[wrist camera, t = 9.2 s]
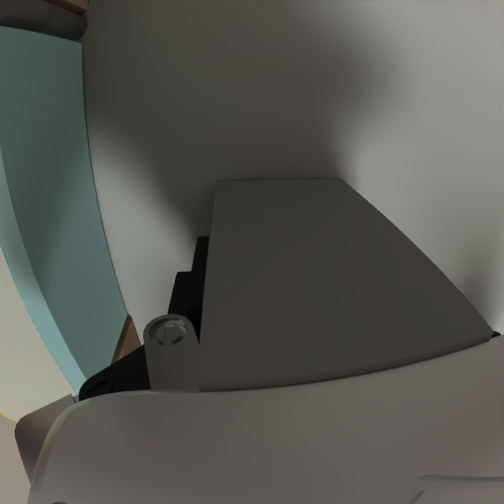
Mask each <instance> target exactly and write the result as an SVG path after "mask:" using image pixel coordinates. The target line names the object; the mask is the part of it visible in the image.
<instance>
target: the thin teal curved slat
mask: <svg viewBox="0 0 504 504" xmlns="http://www.w3.org/2000/svg"><path fill="white" fill-rule="evenodd" d="M0 245H1V248H2V251H3V254H4V257H5V259H6V262H7V265H8V267H9V270H10V272H11V275H12V277H13V280H14V282H15V284H16V287H17V289H18V291H19V294H20V296H21V298H22V300H23V302H24V305H25V307H26V309H27V311H28V313H29V315H30V317H31V319H32V321H33V323H34V325H35V327H36V329H37V331H38V332H39V334H40V336H41V338H42V340H43V342H44V343H45V345H46V347H47V349H48V350H49V352H50V354H51V355H52V357H53V359H54V360H55V362H56V364H57V365H58V367H59V369H60V370H61V372H62V373H63V375H64V376H65V378H66V379H67V381H68V382H69V384H70V385H71V387H72V388H73V390H74V391H75V393H76V394H77V395H79V391H80V388H81V386H82V385H83V383H84V382H85V381H86V380H88V379H89V378H90V377H92V376H93V375H95V374H96V373H98V372H100V371H101V370H103V369H105V368H106V367H108V366H110V364H111V361H112V358H113V355H114V352H115V349H116V346H117V343H118V340H119V337H120V334H121V331H122V328H123V326H124V323H125V320H126V317H127V313H126V309H125V306H124V303H123V300H122V297H121V294H120V290H119V287H118V284H117V280H116V277H115V273H114V270H113V266H112V263H111V259H110V255H109V251H108V247H107V243H106V239H105V235H104V231H103V226H102V222H101V217H100V212H99V208H98V203H97V197H96V192H95V187H94V181H93V175H92V169H91V162H90V155H89V148H88V140H87V131H86V122H85V111H84V97H83V79H82V43H78V42H75V41H71V40H67V39H63V38H59V37H55V36H51V35H46V34H42V33H37V32H32V31H27V30H21V29H16V28H9V27H3V26H0Z"/></svg>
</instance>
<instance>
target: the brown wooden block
mask: <svg viewBox="0 0 504 504" xmlns="http://www.w3.org/2000/svg"><path fill="white" fill-rule="evenodd" d="M87 8H88V0H0V26H3V27H9V28H16V29H21V30H27V31H32V32H37V33H42V34H46V35H51V36H55V37H59V38H63V39H67V40H71V41H75V40H77V39H79V38H80V37H81V36H82V35H83V33H84V32H85V30H86V26H87V22H86V19H85V18H84V17H82V16H80V15H78V13H81V12H84V11H87ZM140 346H141V343H140V340H139V338H138V335H137V332H136V329H135V326H134V323H133V320H132V318H126V320H125V323H124V326H123V328H122V331H121V334H120V337H119V340H118V343H117V346H116V349H115V352H114V355H113V358H112V361H111V364H113V363H114V362H116V361H118V360H119V359H121V358H122V357H124V356H126V355H127V354H129V353H131V352H132V351H134V350H135V349H137V348H139V347H140ZM111 364H110V365H111Z"/></svg>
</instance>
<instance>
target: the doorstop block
mask: <svg viewBox="0 0 504 504" xmlns="http://www.w3.org/2000/svg"><path fill="white" fill-rule="evenodd" d="M493 333H494V331H493V330H492V329H491V327H490V326H489V325H488V324H487V322H486V321H485V320H484V319H483V318H482V316H481V315H480V314H479V313H478V312H477V310H476V309H475V308H474V307H473V306H472V305H471V303H470V302H469V301H468V300H467V299H466V298H465V297H464V295H463V294H462V293H461V292H460V291H459V290H458V289H457V288H456V286H455V285H454V284H453V283H452V282H451V281H450V280H449V279H448V278H447V277H446V276H445V275H444V274H443V272H442V271H441V270H440V269H439V268H438V267H437V266H436V265H435V264H434V263H433V262H432V261H431V260H430V259H429V258H428V257H427V256H426V255H425V254H424V253H423V252H422V251H421V250H420V249H419V248H418V247H417V246H416V245H415V244H414V243H413V242H412V241H411V240H410V239H409V238H408V237H407V236H406V235H405V234H403V233H402V232H401V231H400V230H399V229H398V228H397V227H396V226H395V225H394V224H393V223H392V222H391V221H390V220H388V219H387V218H386V217H385V216H384V215H383V214H382V213H381V212H380V211H378V210H377V209H376V208H375V207H374V206H373V205H372V204H370V203H369V202H368V201H367V200H366V199H365V198H363V197H362V196H361V195H360V194H359V193H358V192H356V191H355V190H354V189H353V188H352V187H350V186H349V185H348V184H347V183H346V182H344V181H343V180H342V179H266V180H239V181H219V182H217V183H216V190H215V198H214V206H213V214H212V222H211V231H210V239H209V248H208V257H207V267H206V277H205V287H204V297H203V308H202V320H201V332H200V345H199V359H198V374H197V385H198V388H199V391H222V390H242V389H256V388H268V387H279V386H288V385H296V384H304V383H312V382H319V381H326V380H333V379H339V378H345V377H351V376H356V375H362V374H367V373H372V372H377V371H382V370H386V369H391V368H395V367H399V366H404V365H408V364H412V363H416V362H420V361H423V360H427V359H431V358H434V357H438V356H442V355H445V354H449V353H452V352H455V351H458V350H462V349H465V348H468V347H471V346H474V345H477V344H480V343H483V342H486V341H489V340H490V338H491V337H492V335H493Z"/></svg>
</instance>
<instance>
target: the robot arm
mask: <svg viewBox="0 0 504 504" xmlns="http://www.w3.org/2000/svg"><path fill="white" fill-rule="evenodd" d="M209 239H210V236H201V237H198V238H197V243H196V248H195V254H194V259H193V265H192V271H188V272H177V275H176V279H175V283H174V287H173V292H172V296H171V300H170V305H169V309H168V314H167V315H163V316H159V317H157V318H155V319H153V320H152V321H150V322H149V323H148V324H147V325H146V327H145V329H144V332H143V339H144V344H143V345H142V346H140V347H139V348H137V349H135V350H134V351H132V352H131V353H129V354H127V355H126V356H124V357H122V358H121V359H119V360H118V361H116V362H114V363H113V364H111V365H110V366H108V367H106V368H105V369H103V370H101V371H100V372H98V373H96V374H95V375H93V376H92V377H90V378H89V379H88V380H86V381H85V382H84V383H83V385H82V386H81V388H80V391H79V395H77V396H74V397H73V396H72V395H71V394H69V395H67V396H65V397H63V398H61V399H59V400H57V401H55V402H53V403H51V404H49V405H47V406H44V407H42V408H40V409H38V410H36V411H34V412H32V413H29V414H27V415H25V416H24V417H22V418H21V419H20V420H19V421H18V423H17V424H16V428H15V439H16V442H17V446H18V449H19V452H20V456H21V459H22V461H23V465H24V468H25V471H26V473H27V476H28V479H29V482H30V484H31V488H30V492H29V498H28V504H504V334H503V335H501V334H500V333H498V332H496V331H494V333H493V335H492V337H491V338H490V340H489V341H486V342H483V343H480V344H477V345H474V346H471V347H468V348H465V349H462V350H458V351H455V352H452V353H449V354H445V355H442V356H438V357H434V358H431V359H427V360H423V361H420V362H416V363H412V364H408V365H404V366H399V367H395V368H391V369H386V370H382V371H377V372H372V373H367V374H362V375H356V376H351V377H345V378H339V379H333V380H326V381H319V382H312V383H304V384H296V385H288V386H279V387H268V388H256V389H242V390H222V391H199V388H198V385H197V374H198V359H199V345H200V332H201V320H202V308H203V297H204V287H205V277H206V267H207V257H208V248H209Z"/></svg>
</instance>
